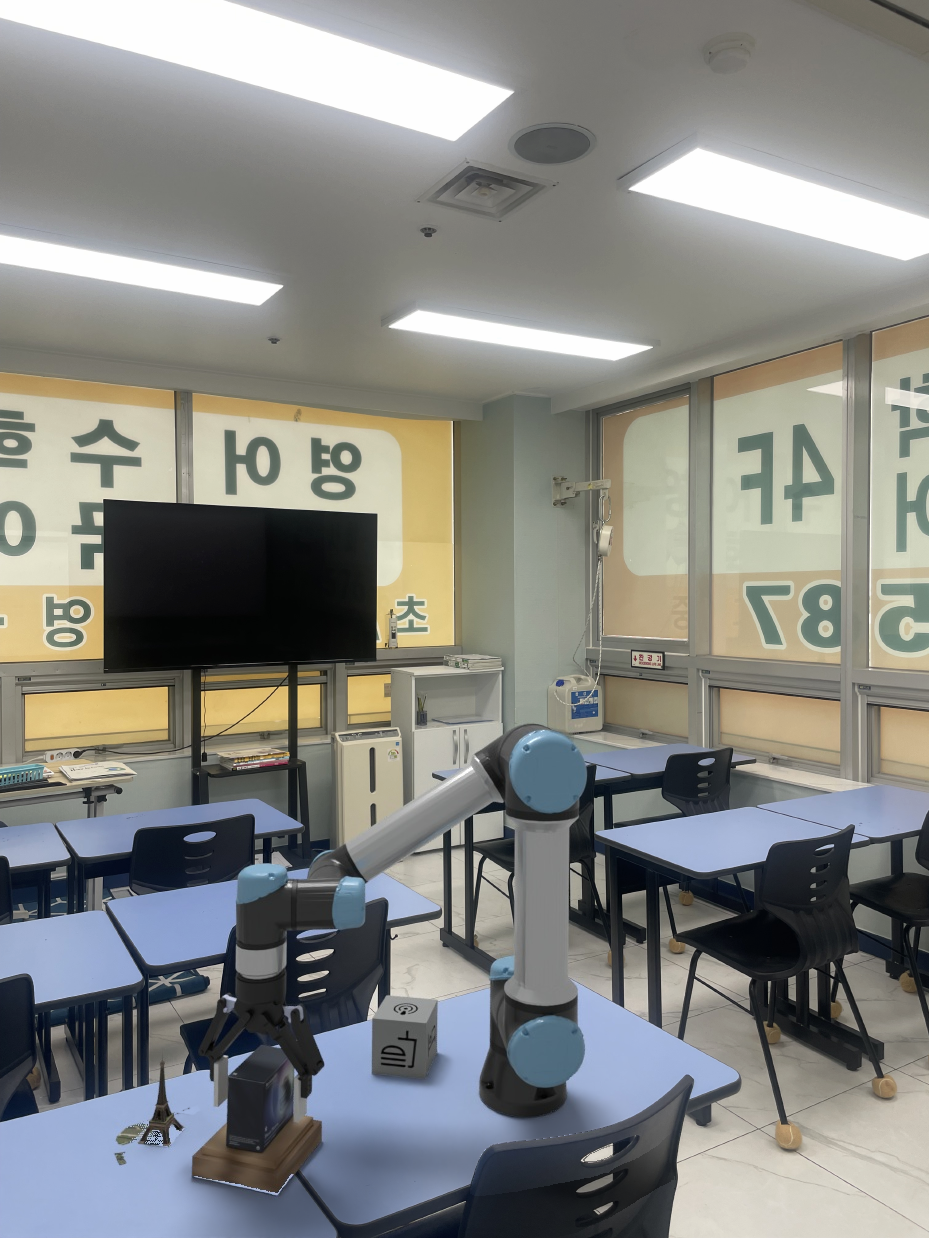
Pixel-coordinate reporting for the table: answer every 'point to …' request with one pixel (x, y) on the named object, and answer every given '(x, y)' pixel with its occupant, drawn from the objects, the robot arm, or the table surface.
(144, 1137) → the eiffel tower figurine
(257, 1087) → the small box
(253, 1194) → the table surface
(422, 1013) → the icon cube
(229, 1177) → the plinth
